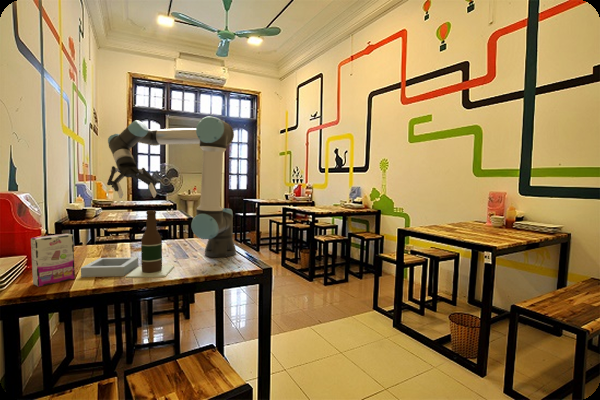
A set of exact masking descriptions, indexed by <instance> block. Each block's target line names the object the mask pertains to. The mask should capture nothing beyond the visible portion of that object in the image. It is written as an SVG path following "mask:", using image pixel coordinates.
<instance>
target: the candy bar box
mask: <svg viewBox="0 0 600 400" xmlns="http://www.w3.org/2000/svg"><path fill="white" fill-rule="evenodd" d="M30 247H31V250H30V251H31V270H32V285H34V286H36V287H45V286H47V285H53V284H56V283H61V282H66V281H70V280H73V279H76V271H75V270H76V269H75V248H74V247H75V245H74V234H73V233H72V234H71V233H61V234H60V233H59V234H54V235H53V234H52V235H45V236H38V237H31V238H30Z"/></svg>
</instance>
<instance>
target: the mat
mask: <svg viewBox="0 0 600 400" xmlns="http://www.w3.org/2000/svg"><path fill="white" fill-rule="evenodd" d="M174 268H175V265H173V264H172V265H162V270H161V271H158V272H154V273H143V272H142V265H138V266H137V267H135V268H134V269H133V270H131V271H130V272H129V273H128V274H126V275H125V278H126V279H133V278H134V279H136V278H137V279H138V278H139V279H140V278H166V277H167V276H168V275H169V273H170V272H171V271H172V270H173V269H174Z"/></svg>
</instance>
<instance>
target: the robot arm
mask: <svg viewBox="0 0 600 400" xmlns="http://www.w3.org/2000/svg"><path fill="white" fill-rule="evenodd" d="M234 137H235V131H234V129H233V127H232V126H231V124H229V123H228V122H226V121H223V120H222V119H220V118H219V117H216V116H215V117H214V116H211V115H210V116H205V117H202V119H201V120H199V121H198V123H197V125H196V126H195V128H193V127H192V128H168V129H167V128H164V129H161V128H160V129H152V128H151V129H149V128H148V126H147V125H146V124H145V123H143V122H142V121H141V120H137V119H136V120H134V121H132V122H130V124H128V126H126V128H125V129H123V130H122V131H121V132H120V133H114V134H111V135H110V136H108V138H107V144H108V148H109V150H110V152H111V154H112V157H113V160H114V162H115V165H116V166H114V165H112V166H111V169H110V175H109V177H108V180H107V183H106V185H107V186H111V188H113V190H114V192H117V194H118V195H117V196H118V197H119V199H122V198H123V197H124V191H123V189H122V186H121V184H120V182H121V181H122V180H123V179H124V178H133V179H134V178H135V179H137V180H139V181H141V182H143V183H144V184H146V185H148V189H149V191H150V194H151V195H152V197H153V198H154V199H155V198H156V196H157V191H156V190H157V187H156V186H157V184H158V179H156V178H155V177H154V176H153V175H152V174H150V173H149V172H148V171H147V170H146V168H145V167H142V168H138V167H137V163H136V162H135V158H134V155H132V153H131V148H133V147H134V146H135V145H136V144H137V143H139V144H145V145H150V146H152V147H153V146H156V147H157V146H159V145H199V148H200V150H202V164H201V182H200V201H199V202H200V204H199V205H198V206H197V207H196V210H195V216H194V217H193V218H192V220H191V225H190V226H191V230H192V232H193V234H194V235H195V236H196V237H197V238H199V239H202V240H207V243H206V246H205V249H204V256H206V257H210V258H225V257H231V256H235V255H236V254H237V253H236V252H237V248H236V246H235V241H234V239H233V228H234V227H233V226H234V225H233V223H234V222H233V220H234V219H233V218H234V214H233V210H232V209H231V208H224V207H223V208H222V206H221V193H222V192H221V190H222V171H223V155H224V152H226V150H227V148H228V147H227V146H228V145H230V144H231V143H232V142H233V140H234ZM117 172H118V173H119V174H118V176H117V177H116V178H115V179H113V178H114V176H115V174H116V173H117Z"/></svg>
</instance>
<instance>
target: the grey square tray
mask: <svg viewBox="0 0 600 400" xmlns="http://www.w3.org/2000/svg"><path fill="white" fill-rule="evenodd" d="M137 267H139V257H138V256H136V257H135V256H134V257H132V256H131V257H128V256H125V257H99V258H97V259H95V260H93V261H91V262H90V263H87V264H86V265H84V266H81V268H80V278H93V277H94V278H95V277H98V278H99V277H102V278H103V277H126V276H127V275H128V274H130V273H131V272H132V271H133V270H135V269H136V268H137Z"/></svg>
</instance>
